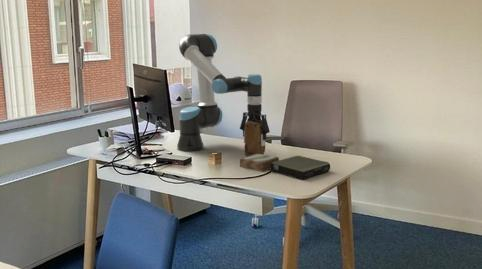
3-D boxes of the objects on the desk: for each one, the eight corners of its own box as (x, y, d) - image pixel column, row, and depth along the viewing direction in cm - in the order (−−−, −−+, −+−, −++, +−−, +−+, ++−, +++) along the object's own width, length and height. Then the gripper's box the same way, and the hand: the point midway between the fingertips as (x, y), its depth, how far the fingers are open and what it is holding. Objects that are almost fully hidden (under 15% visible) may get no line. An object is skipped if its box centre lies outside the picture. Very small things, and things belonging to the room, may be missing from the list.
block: (266, 156, 286) (266, 120, 282) (258, 159, 281) (258, 122, 276) (250, 154, 293) (250, 118, 289) (242, 156, 287) (242, 120, 283)
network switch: (293, 163, 275) (294, 153, 274) (333, 171, 261) (333, 161, 260) (266, 173, 257) (267, 163, 256) (308, 182, 243) (308, 171, 242)
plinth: (240, 166, 268) (240, 158, 267) (256, 160, 278) (256, 152, 278) (262, 171, 259) (262, 162, 258) (278, 165, 270) (278, 157, 269)
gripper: (233, 102, 285) (233, 142, 289) (268, 106, 271) (268, 148, 275) (241, 100, 291) (241, 140, 295) (276, 105, 276) (276, 146, 281)
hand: (254, 144), depth 285 cm, fingers closed on block, 11 cm apart
